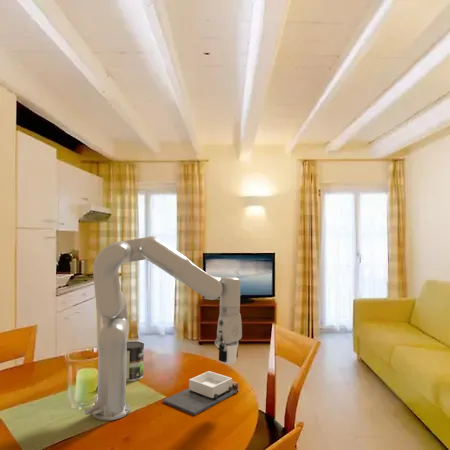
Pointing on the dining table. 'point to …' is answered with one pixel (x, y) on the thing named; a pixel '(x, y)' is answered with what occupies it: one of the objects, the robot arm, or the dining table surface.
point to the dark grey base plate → (197, 400)
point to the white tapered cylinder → (231, 352)
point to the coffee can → (134, 361)
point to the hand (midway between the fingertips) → (228, 358)
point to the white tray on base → (210, 384)
